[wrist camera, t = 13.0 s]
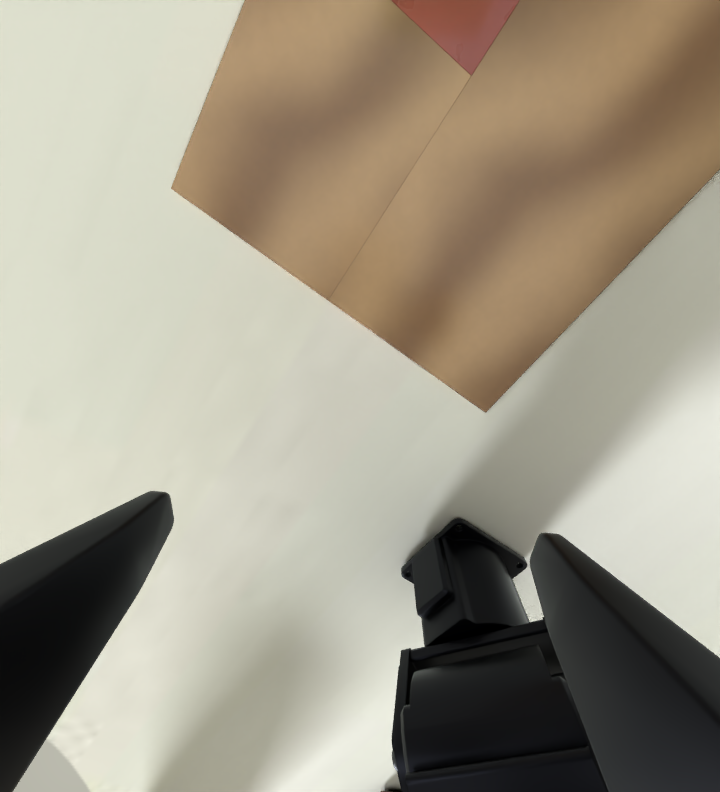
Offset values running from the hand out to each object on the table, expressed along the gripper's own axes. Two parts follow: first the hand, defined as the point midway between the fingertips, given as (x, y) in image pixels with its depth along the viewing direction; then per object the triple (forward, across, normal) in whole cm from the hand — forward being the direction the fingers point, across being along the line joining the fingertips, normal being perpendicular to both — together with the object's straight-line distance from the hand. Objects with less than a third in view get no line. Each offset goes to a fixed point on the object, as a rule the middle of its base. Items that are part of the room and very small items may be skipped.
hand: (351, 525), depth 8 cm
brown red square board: (+12, -3, -12) cm, 17 cm away
